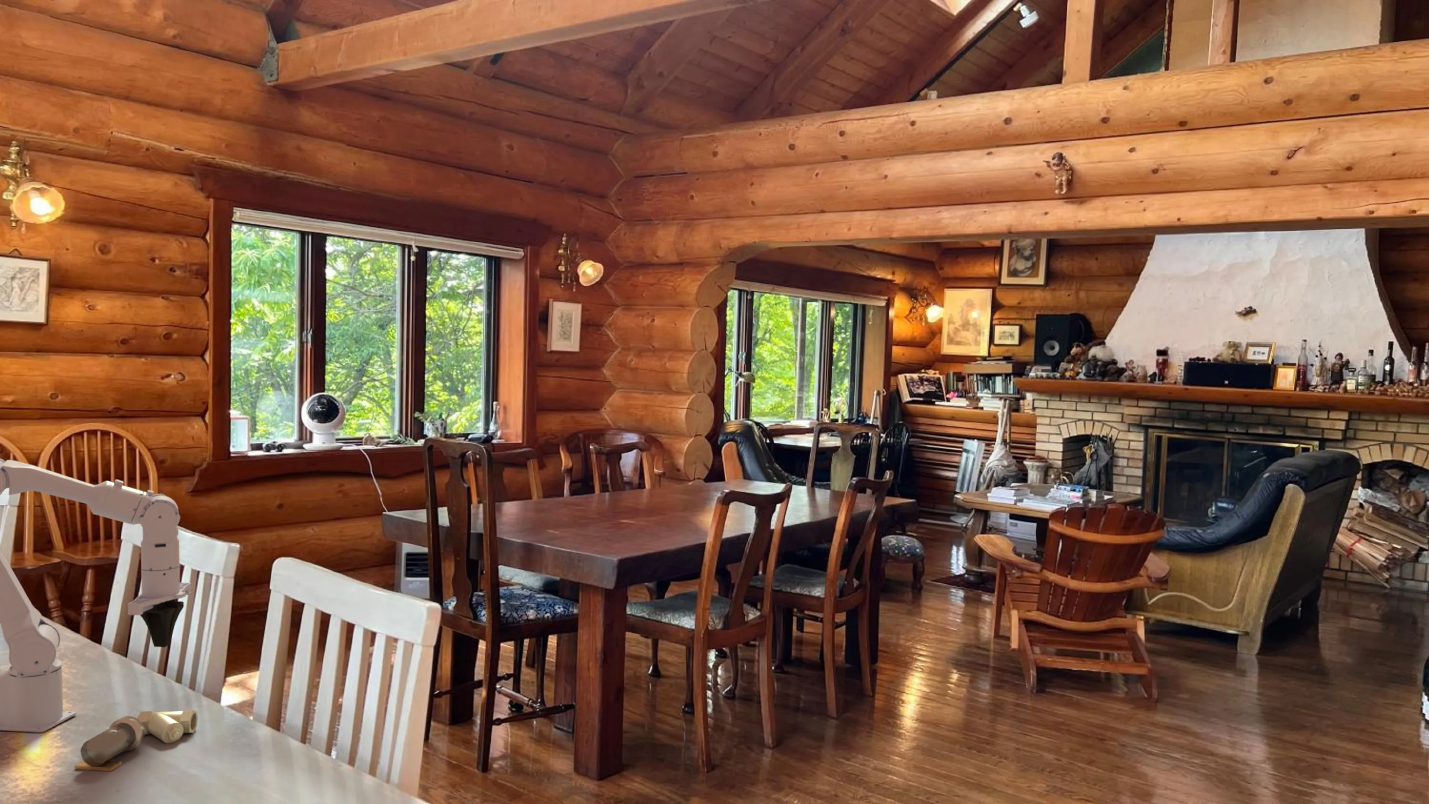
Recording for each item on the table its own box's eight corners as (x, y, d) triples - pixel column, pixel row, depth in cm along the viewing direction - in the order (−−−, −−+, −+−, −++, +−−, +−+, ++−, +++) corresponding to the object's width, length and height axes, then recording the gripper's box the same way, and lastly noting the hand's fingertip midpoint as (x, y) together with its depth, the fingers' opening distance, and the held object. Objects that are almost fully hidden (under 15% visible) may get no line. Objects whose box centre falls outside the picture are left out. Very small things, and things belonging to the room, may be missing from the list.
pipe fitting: (182, 747, 159) (198, 728, 166) (180, 724, 159) (197, 705, 165) (127, 749, 158) (145, 729, 165) (126, 725, 158) (144, 706, 164)
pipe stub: (111, 771, 149) (110, 737, 149) (74, 769, 149) (74, 735, 149) (147, 748, 157) (146, 716, 157) (112, 746, 158) (111, 715, 157)
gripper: (156, 577, 166) (157, 659, 167) (207, 558, 181) (208, 634, 182) (115, 576, 167) (116, 658, 168) (169, 557, 181) (170, 632, 182)
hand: (161, 645), depth 175 cm, fingers closed
